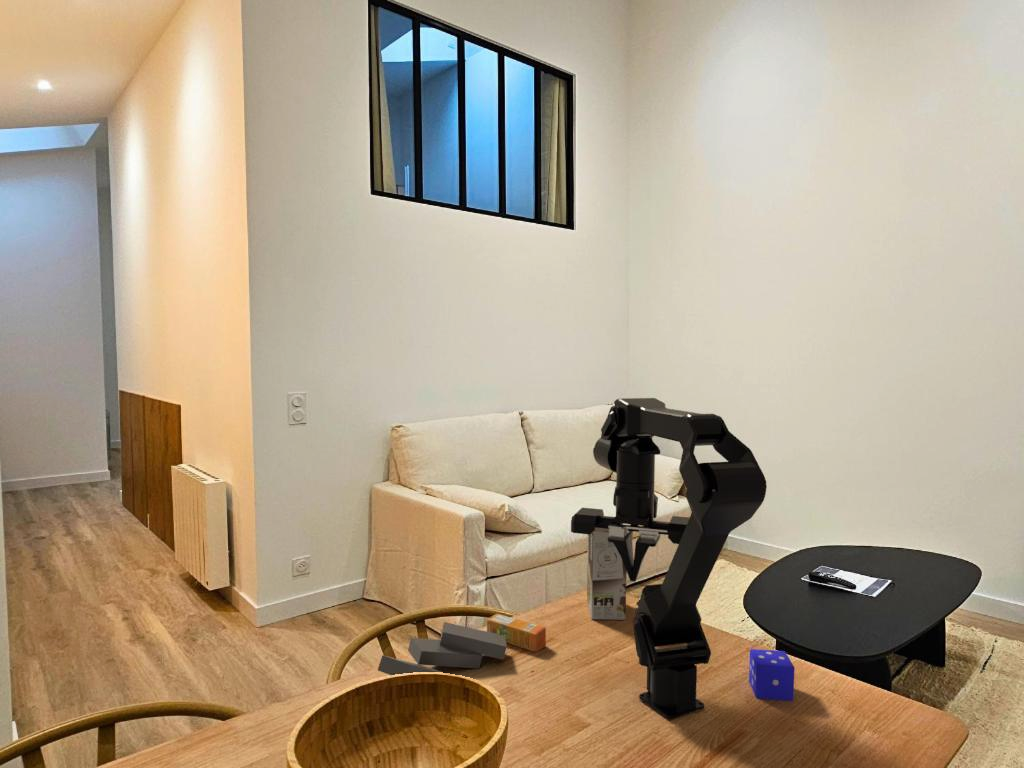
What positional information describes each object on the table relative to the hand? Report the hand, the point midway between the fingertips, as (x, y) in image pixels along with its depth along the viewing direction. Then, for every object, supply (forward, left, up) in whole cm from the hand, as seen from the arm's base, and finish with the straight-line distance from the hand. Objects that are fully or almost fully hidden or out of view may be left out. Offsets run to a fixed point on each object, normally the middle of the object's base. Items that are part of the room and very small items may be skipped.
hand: (633, 580), depth 107 cm
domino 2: (+12, +21, -12) cm, 27 cm away
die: (-16, -12, -13) cm, 24 cm away
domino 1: (+9, +29, -12) cm, 33 cm away
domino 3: (+11, +17, -11) cm, 23 cm away
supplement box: (+10, +10, -11) cm, 18 cm away
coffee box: (+19, -9, -13) cm, 25 cm away
